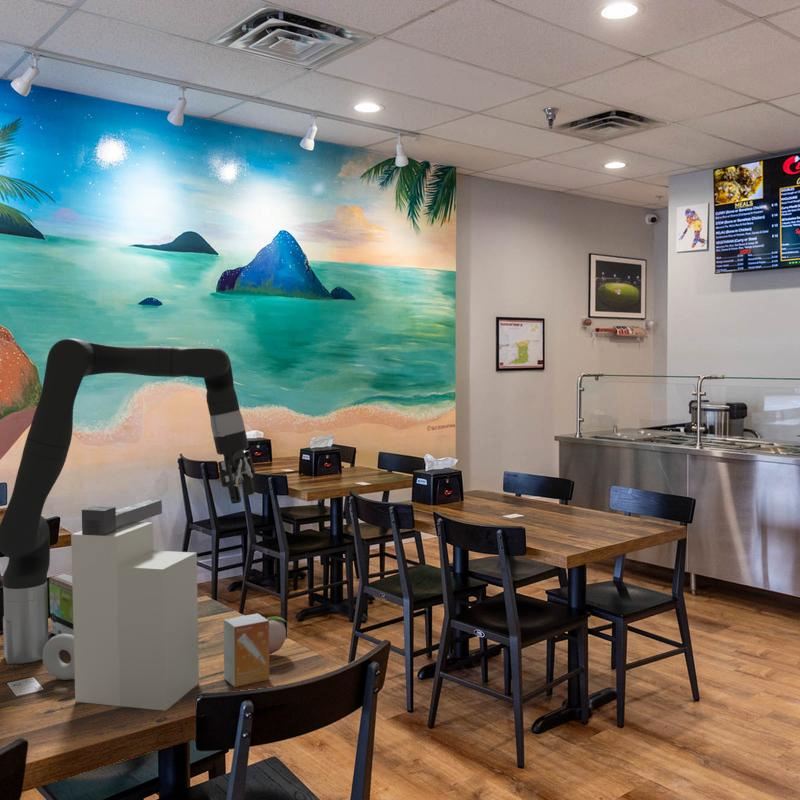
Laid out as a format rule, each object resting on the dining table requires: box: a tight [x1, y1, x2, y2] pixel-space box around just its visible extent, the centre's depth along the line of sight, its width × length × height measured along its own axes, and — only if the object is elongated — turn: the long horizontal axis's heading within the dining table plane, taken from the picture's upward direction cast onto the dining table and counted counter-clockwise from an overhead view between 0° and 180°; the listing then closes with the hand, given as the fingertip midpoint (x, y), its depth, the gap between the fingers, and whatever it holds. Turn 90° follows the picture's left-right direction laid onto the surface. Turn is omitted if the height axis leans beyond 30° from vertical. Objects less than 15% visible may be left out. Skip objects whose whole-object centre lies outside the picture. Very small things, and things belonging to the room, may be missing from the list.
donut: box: [41, 634, 75, 681], centre depth 177 cm, size 10×4×10 cm, turn 82°
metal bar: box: [81, 499, 163, 536], centre depth 174 cm, size 24×5×5 cm, turn 167°
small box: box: [222, 613, 270, 688], centre depth 176 cm, size 8×6×13 cm
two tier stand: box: [70, 521, 200, 712], centre depth 169 cm, size 14×20×34 cm
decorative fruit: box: [265, 613, 287, 656], centre depth 189 cm, size 9×8×10 cm
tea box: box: [48, 571, 74, 636], centre depth 205 cm, size 15×10×15 cm, turn 49°
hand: (243, 498), depth 194 cm, fingers open, 8 cm apart
